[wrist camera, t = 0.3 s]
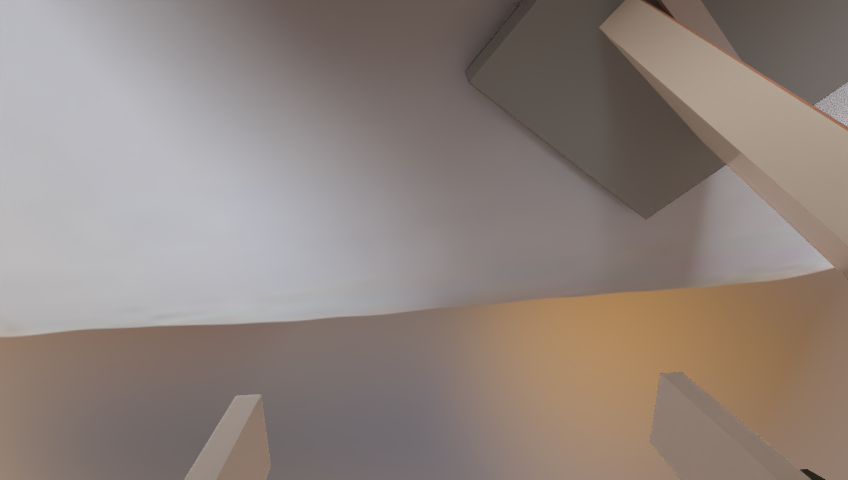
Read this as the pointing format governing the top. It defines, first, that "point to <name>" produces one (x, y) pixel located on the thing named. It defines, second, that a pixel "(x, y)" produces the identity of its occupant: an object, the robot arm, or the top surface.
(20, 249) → the top surface
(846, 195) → the tile
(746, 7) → the board
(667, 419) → the robot arm
